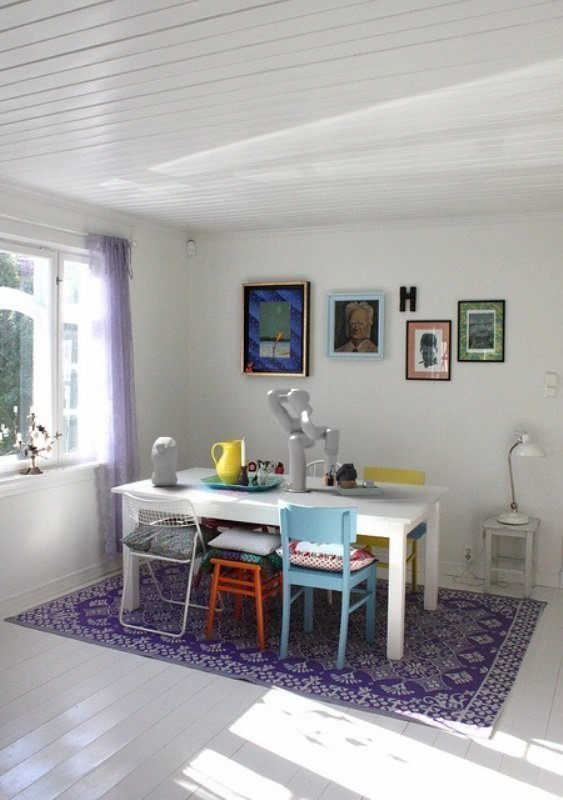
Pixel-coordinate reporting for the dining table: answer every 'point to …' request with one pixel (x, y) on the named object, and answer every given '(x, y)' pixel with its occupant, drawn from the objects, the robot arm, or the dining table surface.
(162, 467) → the bust
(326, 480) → the terracotta box
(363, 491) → the pale green flat tray
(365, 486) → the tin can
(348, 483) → the walnut block
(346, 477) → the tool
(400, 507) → the dining table surface
